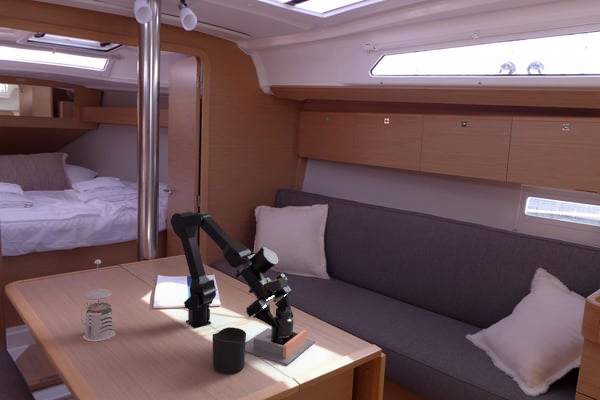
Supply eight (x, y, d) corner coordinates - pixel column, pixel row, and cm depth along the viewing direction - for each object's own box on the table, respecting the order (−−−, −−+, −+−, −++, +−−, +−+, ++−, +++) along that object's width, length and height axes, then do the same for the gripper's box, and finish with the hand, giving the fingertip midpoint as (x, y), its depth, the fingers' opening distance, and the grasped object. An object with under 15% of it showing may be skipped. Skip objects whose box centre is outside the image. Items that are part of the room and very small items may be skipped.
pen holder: (247, 373, 133) (248, 340, 132) (213, 377, 130) (214, 343, 129) (242, 358, 142) (243, 326, 141) (210, 361, 139) (210, 328, 138)
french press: (122, 332, 156) (121, 257, 152) (96, 347, 145) (94, 267, 141) (97, 326, 159) (96, 254, 155) (70, 341, 148) (68, 262, 144)
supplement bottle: (282, 353, 145) (283, 315, 143) (265, 345, 149) (267, 309, 147) (296, 346, 150) (298, 309, 148) (280, 339, 154) (282, 303, 152)
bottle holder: (236, 350, 147) (237, 335, 146) (267, 329, 163) (268, 316, 162) (287, 365, 138) (288, 350, 138) (315, 342, 154) (315, 329, 154)
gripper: (255, 275, 140) (286, 319, 136) (287, 260, 156) (315, 300, 153) (233, 295, 145) (262, 338, 141) (266, 279, 161) (293, 317, 158)
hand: (285, 322), depth 148 cm, fingers open, 9 cm apart
